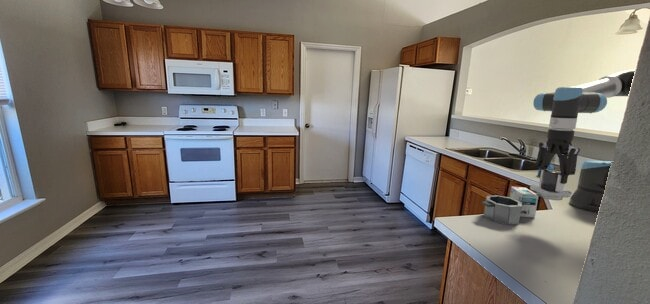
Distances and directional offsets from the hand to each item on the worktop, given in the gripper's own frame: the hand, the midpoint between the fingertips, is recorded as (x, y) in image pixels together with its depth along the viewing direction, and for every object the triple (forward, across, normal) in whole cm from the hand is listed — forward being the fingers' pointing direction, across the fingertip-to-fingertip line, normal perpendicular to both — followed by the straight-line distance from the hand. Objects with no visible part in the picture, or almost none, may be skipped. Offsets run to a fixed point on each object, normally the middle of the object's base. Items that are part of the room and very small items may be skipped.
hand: (550, 188), depth 105 cm
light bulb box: (+17, -15, +4) cm, 24 cm away
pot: (+17, -11, -10) cm, 22 cm away
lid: (+3, 0, 0) cm, 3 cm away
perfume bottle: (+19, -67, +75) cm, 103 cm away
